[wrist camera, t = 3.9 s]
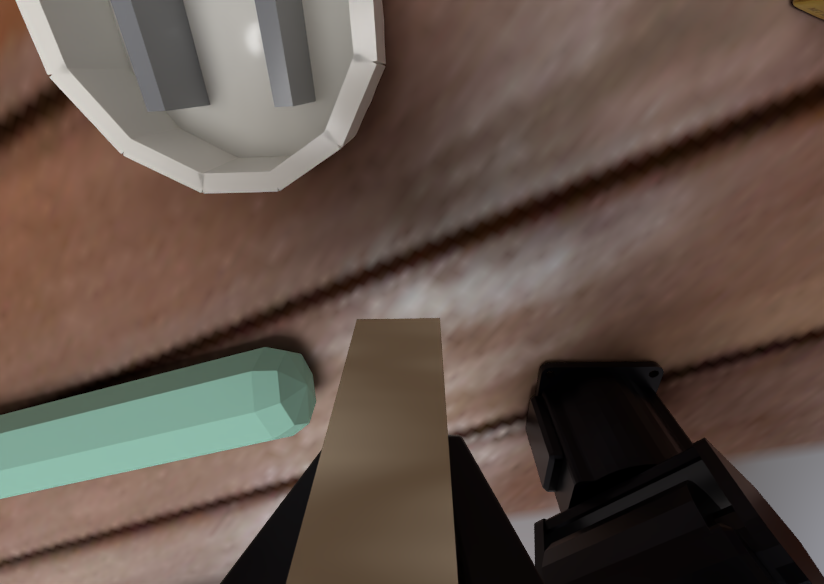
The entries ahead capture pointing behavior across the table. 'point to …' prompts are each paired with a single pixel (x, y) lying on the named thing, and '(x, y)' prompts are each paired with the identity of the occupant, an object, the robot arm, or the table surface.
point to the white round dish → (216, 81)
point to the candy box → (811, 7)
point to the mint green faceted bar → (156, 420)
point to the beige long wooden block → (383, 466)
